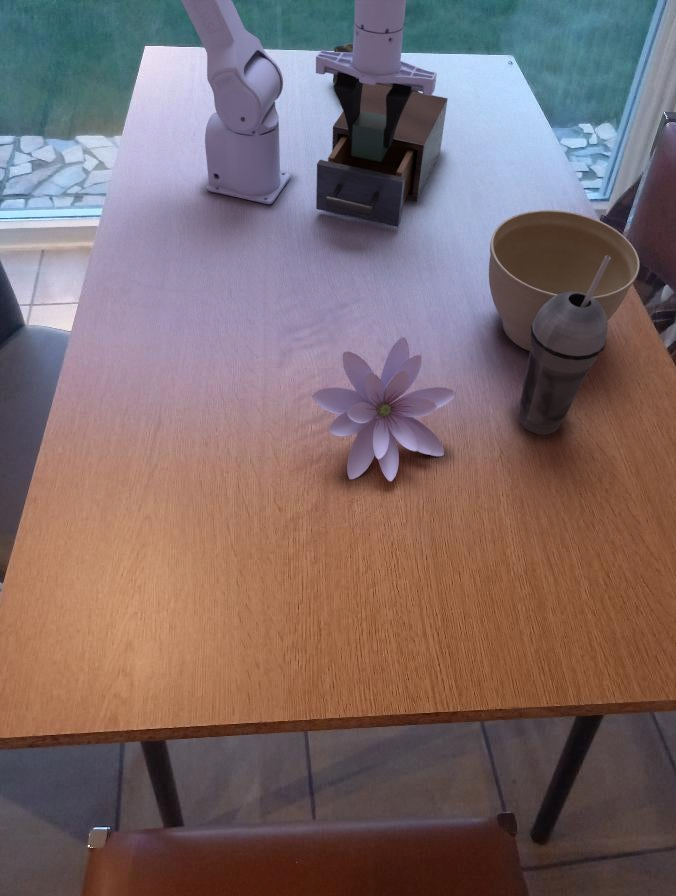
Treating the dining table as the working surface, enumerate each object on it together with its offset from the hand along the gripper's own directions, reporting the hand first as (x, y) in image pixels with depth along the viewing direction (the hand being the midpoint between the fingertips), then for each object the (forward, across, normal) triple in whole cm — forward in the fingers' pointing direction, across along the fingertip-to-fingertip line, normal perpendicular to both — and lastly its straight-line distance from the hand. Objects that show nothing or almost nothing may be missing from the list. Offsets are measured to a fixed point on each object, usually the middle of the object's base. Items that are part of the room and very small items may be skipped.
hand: (370, 141), depth 99 cm
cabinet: (+9, 0, +11) cm, 14 cm away
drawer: (+8, 0, 0) cm, 8 cm away
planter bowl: (+9, +27, -18) cm, 34 cm away
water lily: (+9, +14, -43) cm, 46 cm away
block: (+1, 0, 0) cm, 1 cm away
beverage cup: (+9, +29, -33) cm, 45 cm away
